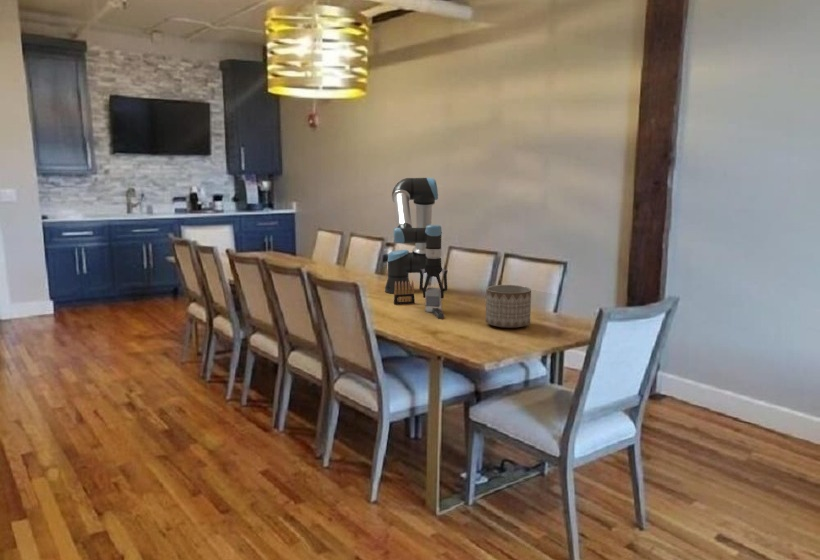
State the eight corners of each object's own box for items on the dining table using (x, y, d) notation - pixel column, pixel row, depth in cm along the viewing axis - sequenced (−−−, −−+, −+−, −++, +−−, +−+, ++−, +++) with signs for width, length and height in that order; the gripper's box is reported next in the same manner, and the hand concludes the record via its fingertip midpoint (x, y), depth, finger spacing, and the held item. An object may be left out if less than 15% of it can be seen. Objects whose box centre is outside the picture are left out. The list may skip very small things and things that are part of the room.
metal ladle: (423, 309, 303) (423, 297, 302) (439, 309, 305) (439, 297, 304) (432, 319, 284) (432, 306, 283) (449, 318, 286) (449, 305, 284)
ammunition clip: (413, 302, 320) (413, 280, 318) (414, 303, 318) (414, 280, 316) (393, 303, 317) (393, 281, 315) (394, 304, 315) (394, 281, 313)
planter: (477, 322, 277) (478, 286, 274) (514, 318, 285) (515, 283, 282) (500, 332, 260) (501, 294, 257) (538, 328, 267) (540, 290, 264)
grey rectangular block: (428, 303, 303) (428, 287, 302) (440, 304, 302) (440, 288, 301) (426, 306, 297) (426, 289, 296) (438, 306, 296) (438, 290, 295)
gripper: (412, 258, 294) (412, 305, 298) (452, 258, 291) (452, 306, 294) (415, 256, 301) (415, 302, 305) (454, 256, 298) (453, 303, 302)
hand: (433, 304), depth 300 cm, fingers closed on grey rectangular block, 6 cm apart
